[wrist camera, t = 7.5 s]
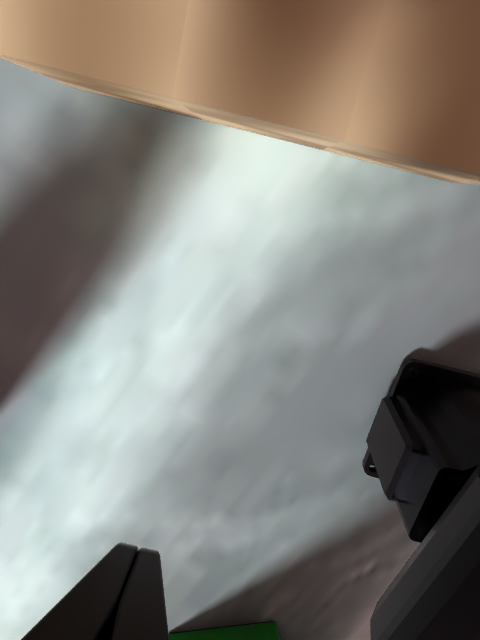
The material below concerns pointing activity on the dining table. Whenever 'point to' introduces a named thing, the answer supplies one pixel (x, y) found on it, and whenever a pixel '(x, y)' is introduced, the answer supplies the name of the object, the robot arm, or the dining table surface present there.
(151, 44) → the socket block
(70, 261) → the dining table surface
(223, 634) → the milk carton
